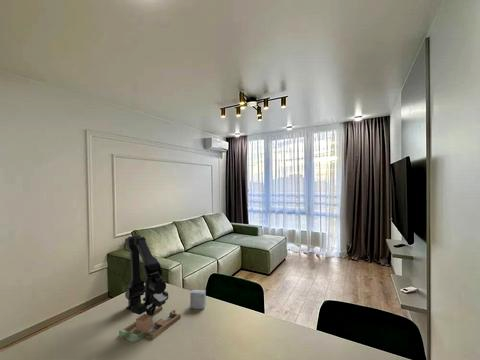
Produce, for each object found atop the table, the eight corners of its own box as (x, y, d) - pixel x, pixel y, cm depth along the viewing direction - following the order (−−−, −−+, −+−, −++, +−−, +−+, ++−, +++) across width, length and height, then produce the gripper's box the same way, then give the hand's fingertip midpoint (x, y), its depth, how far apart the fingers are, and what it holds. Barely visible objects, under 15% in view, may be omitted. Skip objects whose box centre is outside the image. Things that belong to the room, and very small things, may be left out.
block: (135, 329, 107) (135, 318, 107) (144, 323, 112) (144, 313, 112) (143, 332, 105) (143, 321, 105) (151, 326, 110) (151, 316, 110)
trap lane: (119, 335, 103) (119, 330, 103) (160, 309, 125) (160, 304, 125) (143, 346, 96) (143, 340, 96) (182, 316, 118) (183, 311, 118)
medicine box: (205, 305, 129) (206, 290, 130) (203, 309, 125) (204, 293, 125) (192, 304, 130) (192, 289, 131) (190, 308, 126) (190, 293, 126)
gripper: (148, 298, 101) (147, 334, 100) (176, 282, 118) (176, 313, 117) (130, 293, 106) (130, 327, 105) (160, 279, 123) (160, 308, 122)
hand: (150, 318), depth 112 cm, fingers closed
